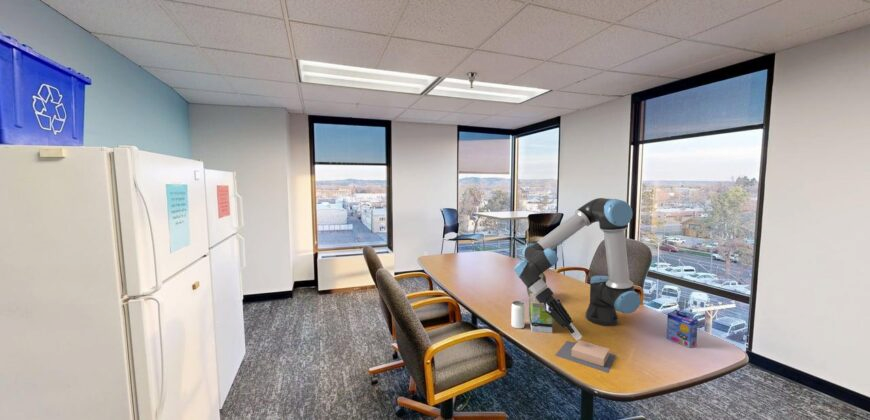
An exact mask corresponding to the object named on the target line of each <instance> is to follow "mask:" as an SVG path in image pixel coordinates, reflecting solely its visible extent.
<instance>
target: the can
mask: <svg viewBox="0 0 870 420" xmlns="http://www.w3.org/2000/svg"><path fill="white" fill-rule="evenodd" d="M525 307H526V306H525V303H524V302H522V301H519V300H515V301H512V303H511V315H510V316H511V317H510V318H511V319H510V320H511V321H510V323H511V327H512V328H514V329H517V330H522V329H524V328H525V319H526V317H525V315H526V308H525Z"/></svg>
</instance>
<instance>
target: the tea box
mask: <svg viewBox="0 0 870 420" xmlns="http://www.w3.org/2000/svg"><path fill="white" fill-rule="evenodd" d="M528 305H529V308H528V310H529V311H528V312H529V313H528V321H529V326H530V330H531V332H533V333H546V334H553V323H554V319H553V318H552V317H551V316H550V315H549V314H548V313H547V312H546V311H545V310H546V309H547V308H546V307H545V305H544V303H539V301H538V300H537V299H536V295H533V294H532V293H530V297H529V304H528Z"/></svg>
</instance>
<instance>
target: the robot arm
mask: <svg viewBox="0 0 870 420" xmlns="http://www.w3.org/2000/svg"><path fill="white" fill-rule="evenodd" d="M632 219H633V209H632V207H631V206H630V204H629V203H628V202H626V201H624V200H622V199H617V198H604V197H598V198H594V199H592V200H590V201H588V202H586V203H585V204H583V205H582V206H580V207H579V208H578V209H576V210H575V212H574V213H573V215H572V216H570V217H569V218H568V219H566V220H565V221H563V222H562V223H561V224H559V225H558V226H556V228H554V229H553V230H551V231H550V232H549V233H548V234H546V235H544V236H543V237H541V239H539V240H538V241H536V242H535V243H533V244H532V245H526V246H524V247H523V249H522V251H521V253H522V257H523V258H524V259H523V260H521V261H520V262H518V263H516V265H515V266H514V268H513V271H514V272H515V274H516V275H517V276H518V278H519V280H521V281H522V282H523V284H524V286H526V289H527V288H528V289H529V290H530V292H532V294H533V295H536V299H537V300H538V301H539V303H544V305H545V307H546V308H547V309H546V310H545V311H546V312H547V313H548V314H549V315H550V316H551V317H552V318H553V321H555V322H556V323H557V324H558V325H559V326H560V327H561V328H563V329H565V328H566V330H567V331H568V332H569V334H571V336H572V337H573V338H574V339H575V341H578V340H581V338H583V335H582V334H581V333H580V332H579V330H578V329H577V328H576V326H574V324H573V322H574V320H573V318H572V317H571V316H570V315H569V314H570V313H568V311H567V310H566V308H565V307H564V306H563V304H562V302H561V300H560V299H556V298H555V297H554V296H553V295H554V292H553V291H552V289H551V288H550V287H548V285H547V282H546V283H545V282H544V281H543V280H542V279H541V277H540V276H539V275H540V274H542V273H544V272H546V271H548V269H550V268H552V267H553V266H554V265H556V263H558V261H559V257H558V255H557V253H556V252H555V251H554V249H556V248H557V247H559V246H560V245H561V244H562V243H564V242H565V241H567V240H568V239H570V238H571V237H573V236H574V235H575V234H576V233H577V232H579V231H580V230H582V229H583V228H584V227H589V226H591V225H592V224H594V223H597V222H598V225H599V229H600V230H601V231H602V232H603V238H604V248H605V255H606V256H605V257H606V264H607V265H606V266H607V274H608V275H594V276H591V278H590V282H589V284H590V285H589V287H590V289H589V291H590V292H589V304H588V307H587V308H586V312H585V318H586V320H587V321H589V322H591V323H593V324H596V325H600V326H606V327H607V326H616V325H618V324H619V317H618V313H617V312H619V313H622V315H623V314H625V315H630V314H633V313H634V312H636V311H637V309H639V307H640V305H641V303H642V299H641V296H640V294H639V293H638V292H637V291H635V284H634V282H633V281H632V280H630V272H629V263H628V254H627V241H626V232H625V231H626V230H627V229H628V227H629V225H628V224H630V222H631V220H632Z"/></svg>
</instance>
